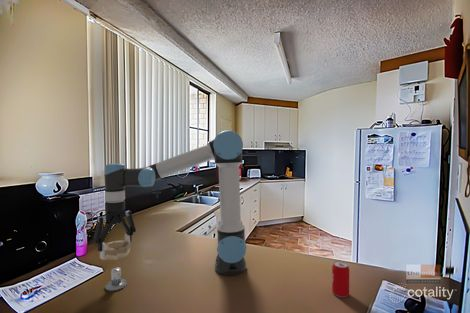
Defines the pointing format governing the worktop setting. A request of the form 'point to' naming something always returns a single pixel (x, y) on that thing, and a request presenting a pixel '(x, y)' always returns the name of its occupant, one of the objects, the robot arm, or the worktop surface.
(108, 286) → the post
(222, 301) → the worktop surface
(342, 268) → the beverage can
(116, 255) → the ring
